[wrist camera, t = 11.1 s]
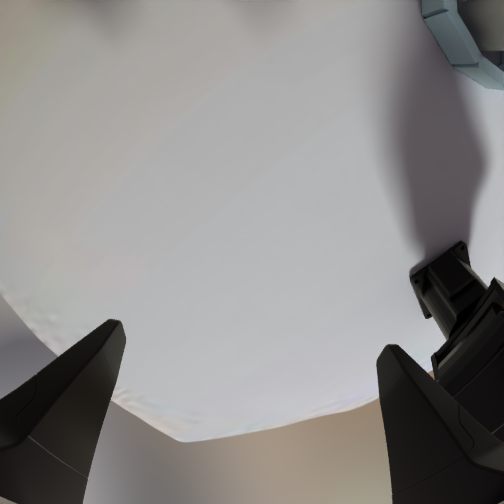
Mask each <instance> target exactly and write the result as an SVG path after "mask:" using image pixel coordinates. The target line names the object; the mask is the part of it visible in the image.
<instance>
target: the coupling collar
mask: <svg viewBox="0 0 504 504" xmlns="http://www.w3.org/2000/svg"><path fill="white" fill-rule="evenodd" d="M422 16H424V17H426V19H424V21H425V23H426V24H427V26H428V27H429V29H430V30H431V32H432V34H433V35H434V37H435V38H436V40H437V42H438V43H439V45H440V47H441V48H442V50H443V52H444V53H445V55H446V57H447V59H448V61H449V63H450V64H454V68H455V69H456V70H458V71H460V72H461V73H463V74H465V75H466V76H468V77H470V78H471V79H473V80H474V81H476V82H477V83H479V84H480V85H482V86H483V87H485V88H488V89H496V90H503V91H504V51H501V65H499V66H498V67H497V66H495V65H494V64H493V63H492V62H490V61H489V60H488V59H486V58H485V57H484V56H482V55H481V53H480V51H479V49H478V47H477V45H476V43H475V41H474V39H473V38H472V36H471V34H470V32H469V31H468V29H467V27H466V25H465V24H464V22H463V21H462V19H461V17H460V16H459V14H458V13H457V0H422Z"/></svg>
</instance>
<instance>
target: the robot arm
mask: <svg viewBox="0 0 504 504" xmlns="http://www.w3.org/2000/svg"><path fill="white" fill-rule="evenodd" d="M416 279H417V280H416ZM415 280H416V281H415ZM410 282H411V285H412V287H413V289H414V292H415V294H416V297H417V299H418V302H419V304H420V307H421V309H422V312H423V315H424V317H425V318H426V319H429V318H431V317H432V316H433V318H434V319H435V321H436V323H437V324H438V326H439V328H440V330H441V331H442V333H443V335H444V336H445V338H446V340H447V341H446V342H445V343H444V344H443V346H442V347H441V348H440V349H439V350H438V351H437V352H435V353H434V354H433V355H432V356H431V361H432V367H433V372H434V378H435V380H434V379H433V378H432V377H431V376H430V375H429V374H428V373H427V372H426V371H425V370H424V369H423V368H422V367H421V366H420V365H419V364H418V363H417V362H416V361H414V360H413V359H412V358H411V357H410V356H409V355H408V354H407V353H406V352H405V351H404V350H403V349H402V348H401V347H400V346H399V345H397V344H388V345H386V346H385V348H384V349H383V351H382V352H381V354H380V356H379V357H378V359H377V363H376V366H377V376H378V387H379V398H380V405H381V411H382V417H383V422H384V429H385V435H386V442H387V449H388V457H389V466H390V475H391V486H392V501H393V504H504V283H502V282H501V281H499V280H498V279H496V278H495V277H494V278H493V279H492V281H491V282H490V283H491V284H490V286H489V287H487V285H486V284H485V283H484V282H483V281H482V280H481V279H480V277H479V276H478V275H477V274H476V273H475V272H474V271H473V270H472V269H471V265H470V260H469V255H468V250H467V245H466V243H465V242H463V241H460V242H458V243H457V244H456V245H455V246H453V247H452V248H451V249H449V250H448V251H447V252H445V253H444V254H443V255H441V256H440V257H439V258H437V259H436V260H434V261H433V262H432V263H430V264H429V265H427V266H426V267H425V268H423V269H422V270H420V271H419V272H417V273H416V274H414V275H413V276H412V277H411V279H410ZM125 344H126V336H125V332H124V329H123V325H122V322H121V321H119V320H115V319H108V320H107V321H106V322H104V323H103V324H101V325H100V326H99V327H97V328H96V329H95V330H93V331H92V332H91V333H89V334H88V335H87V336H85V337H84V338H83V339H81V340H80V341H79V342H77V343H76V344H75V345H73V346H72V347H71V348H69V349H68V350H67V351H65V352H64V353H63V354H61V355H60V356H59V357H57V358H56V359H55V360H54V361H52V362H51V363H50V364H48V365H47V366H46V367H45V368H43V369H42V370H41V371H39V372H38V373H37V374H36V375H34V376H33V377H32V378H30V379H29V380H28V381H26V382H25V383H24V384H22V385H21V386H20V387H18V388H17V389H15V390H14V391H12V392H11V393H9V394H8V395H6V396H5V397H3V398H2V399H0V504H83V499H84V494H85V489H86V485H87V481H88V476H89V472H90V468H91V464H92V460H93V456H94V452H95V448H96V445H97V442H98V438H99V435H100V431H101V428H102V425H103V421H104V418H105V415H106V412H107V409H108V406H109V403H110V400H111V397H112V394H113V391H114V388H115V385H116V382H117V378H118V374H119V369H120V365H121V361H122V356H123V352H124V348H125Z"/></svg>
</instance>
